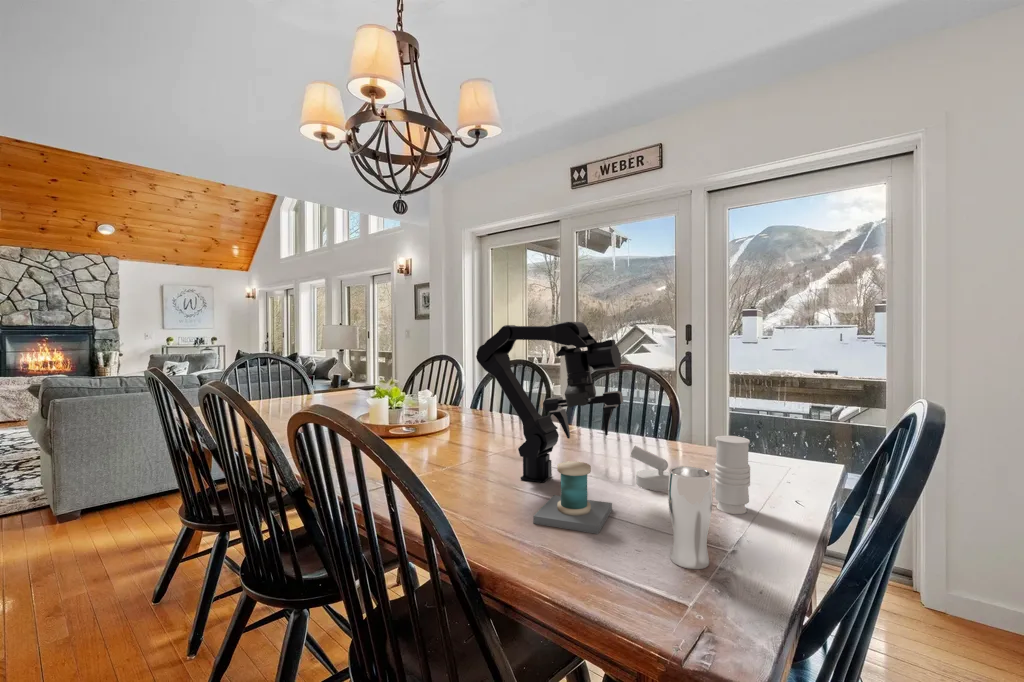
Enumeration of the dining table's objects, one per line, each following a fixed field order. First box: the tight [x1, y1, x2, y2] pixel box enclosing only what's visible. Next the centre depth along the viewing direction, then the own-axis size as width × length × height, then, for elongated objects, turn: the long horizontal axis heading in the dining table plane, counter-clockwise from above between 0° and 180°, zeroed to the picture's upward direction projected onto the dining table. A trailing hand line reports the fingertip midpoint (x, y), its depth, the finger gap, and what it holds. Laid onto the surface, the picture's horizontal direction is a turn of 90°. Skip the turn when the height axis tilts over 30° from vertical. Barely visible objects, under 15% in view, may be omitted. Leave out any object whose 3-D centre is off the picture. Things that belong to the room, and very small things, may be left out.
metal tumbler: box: [667, 465, 714, 570], centre depth 81 cm, size 7×7×15 cm
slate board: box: [532, 494, 613, 535], centre depth 101 cm, size 13×13×2 cm
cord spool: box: [557, 460, 592, 516], centre depth 101 cm, size 7×7×9 cm
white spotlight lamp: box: [630, 444, 670, 491], centre depth 121 cm, size 9×10×10 cm
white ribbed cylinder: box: [713, 435, 751, 515], centre depth 104 cm, size 7×7×15 cm
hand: (587, 436), depth 118 cm, fingers open, 9 cm apart
